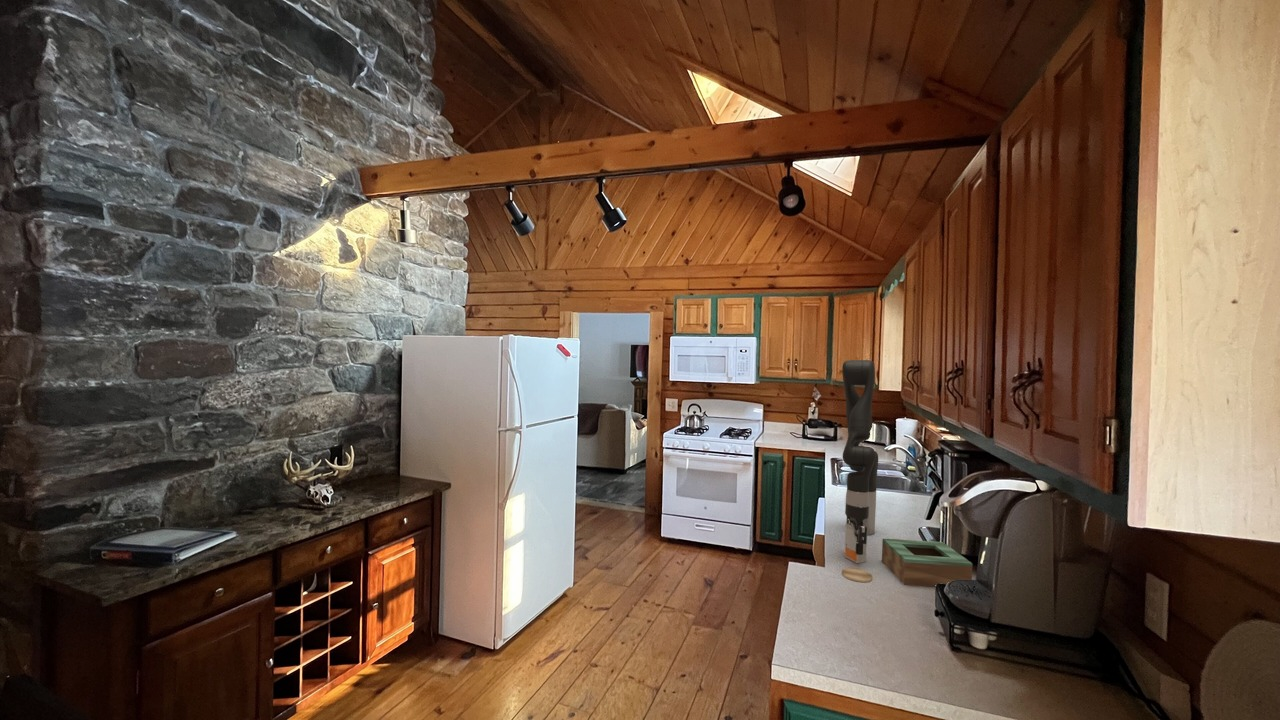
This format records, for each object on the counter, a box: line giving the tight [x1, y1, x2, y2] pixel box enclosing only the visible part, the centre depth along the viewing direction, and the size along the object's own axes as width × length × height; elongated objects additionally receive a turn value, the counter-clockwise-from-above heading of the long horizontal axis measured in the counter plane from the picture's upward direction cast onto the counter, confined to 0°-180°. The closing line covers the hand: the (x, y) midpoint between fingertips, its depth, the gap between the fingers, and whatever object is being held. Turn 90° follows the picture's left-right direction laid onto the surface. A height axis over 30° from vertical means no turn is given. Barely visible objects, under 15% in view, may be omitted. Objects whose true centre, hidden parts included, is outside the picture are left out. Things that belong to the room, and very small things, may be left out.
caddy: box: [881, 538, 973, 588], centre depth 167 cm, size 18×20×8 cm
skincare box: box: [843, 523, 868, 564], centre depth 178 cm, size 6×4×12 cm
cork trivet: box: [841, 567, 873, 583], centre depth 164 cm, size 9×9×1 cm
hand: (855, 549), depth 178 cm, fingers closed on skincare box, 7 cm apart
